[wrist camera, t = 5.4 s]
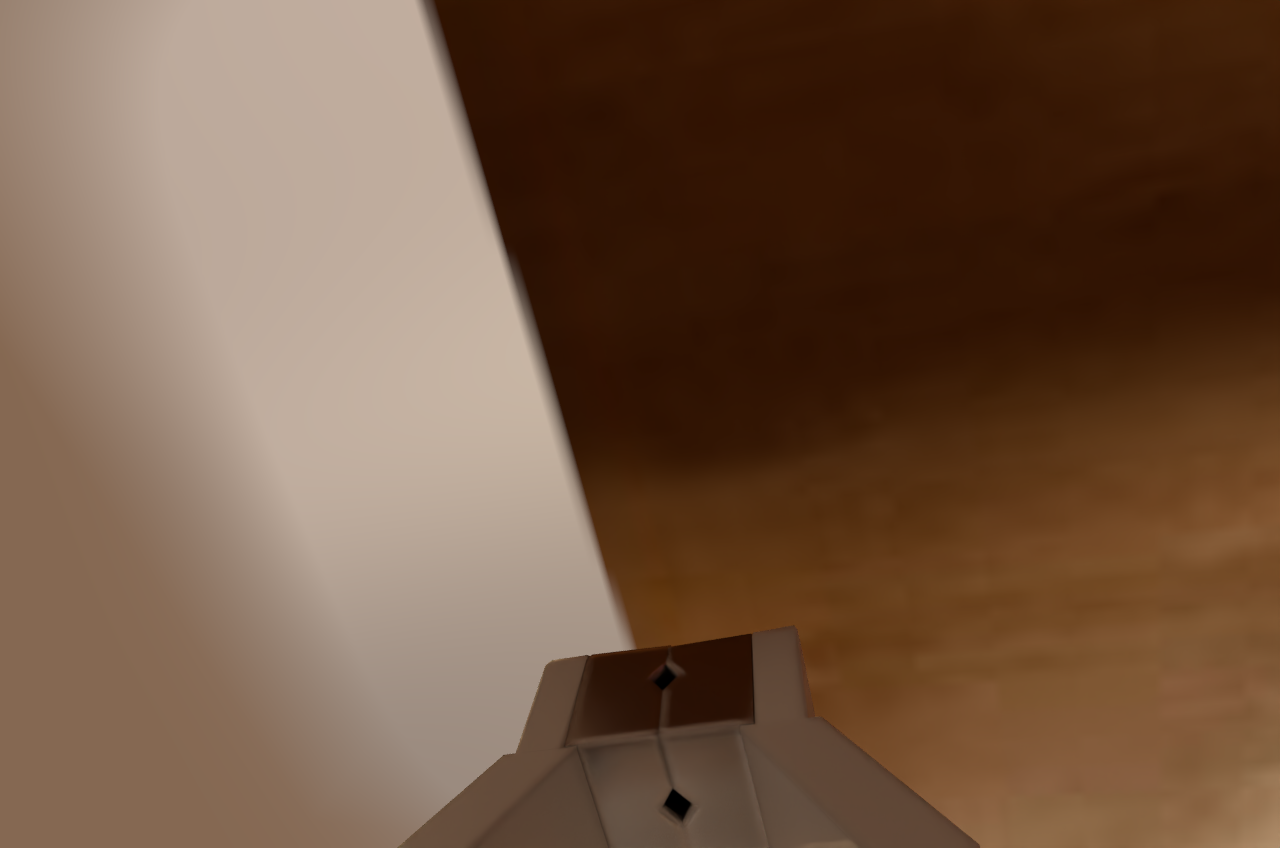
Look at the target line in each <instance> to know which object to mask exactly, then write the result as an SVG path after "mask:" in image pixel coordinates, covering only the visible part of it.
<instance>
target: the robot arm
mask: <svg viewBox="0 0 1280 848" xmlns="http://www.w3.org/2000/svg"><path fill="white" fill-rule="evenodd" d="M398 848H980V846H979V844H978V843H977V842H976V841H974V840H973V839H972V838H971V837H969V836H968V835H967V834H966V833H964V832H963V831H962V830H961V829H960V828H958V827H957V826H956V825H955V824H953V823H952V822H951V821H950V820H948V819H947V818H946V817H945V816H943V815H942V814H941V813H940V812H939V811H937V810H936V809H935V808H934V807H932V806H931V805H930V804H929V803H927V802H926V801H925V800H924V799H923V798H921V797H920V796H919V795H918V794H916V793H915V792H914V791H913V790H911V789H910V788H909V787H908V786H906V785H905V784H904V783H903V782H902V781H900V780H899V779H898V778H897V777H895V776H894V775H893V774H892V773H890V772H889V771H888V770H887V769H885V768H884V767H883V766H882V765H881V764H879V763H878V762H877V761H876V760H874V759H873V758H872V757H871V756H869V755H868V754H867V753H866V752H865V751H863V750H862V749H861V748H860V747H858V746H857V745H856V744H855V743H853V742H852V741H851V740H850V739H848V738H847V737H846V736H845V735H844V734H842V733H841V732H840V731H839V730H837V729H836V728H835V727H834V726H832V725H831V724H830V723H829V722H827V721H826V720H825V719H824V718H823V717H815V713H814V708H813V703H812V698H811V693H810V688H809V683H808V678H807V673H806V668H805V663H804V658H803V653H802V648H801V643H800V639H799V635H798V631H797V628H796V627H795V626H794V625H793V626H788V627H782V628H776V629H771V630H765V631H760V632H754V633H753V634H746V635H739V636H733V637H727V638H721V639H715V640H708V641H702V642H696V643H690V644H684V645H677V646H671V645H669V646H661V647H652V648H644V649H636V650H627V651H619V652H611V653H602V654H594V655H591V656H588V655H585V656H578V657H572V658H564V659H558V660H552V661H551V662H549V663H548V664H547V665H546V666H545V668H544V671H543V674H542V677H541V680H540V683H539V686H538V689H537V692H536V695H535V698H534V701H533V704H532V707H531V710H530V713H529V716H528V719H527V722H526V724H525V728H524V730H523V733H522V736H521V739H520V743H519V745H518V748H517V751H516V753H515V754H507V755H503V756H502V757H501V758H500V759H499V760H497V762H495V763H494V764H493V765H492V766H491V767H489V768H488V769H487V770H486V771H485V772H484V773H483V774H482V775H480V776H479V777H478V778H477V779H476V780H475V781H473V783H471V784H470V785H469V786H468V787H467V788H465V789H464V790H463V791H462V792H461V793H460V794H458V795H457V796H456V797H455V798H454V799H453V800H452V801H450V802H449V803H448V804H447V805H446V806H445V807H444V808H442V809H441V810H440V811H439V812H438V813H437V814H436V815H434V816H433V817H432V818H431V819H430V820H429V821H428V822H426V823H425V824H424V825H423V826H422V827H421V828H420V829H418V830H417V831H416V832H415V833H414V834H413V835H411V836H410V837H409V838H408V839H407V840H406V841H405V842H403V843H402V844H401V845H400V846H399V847H398Z"/></svg>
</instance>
